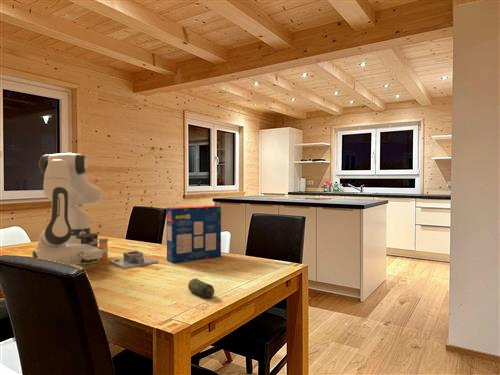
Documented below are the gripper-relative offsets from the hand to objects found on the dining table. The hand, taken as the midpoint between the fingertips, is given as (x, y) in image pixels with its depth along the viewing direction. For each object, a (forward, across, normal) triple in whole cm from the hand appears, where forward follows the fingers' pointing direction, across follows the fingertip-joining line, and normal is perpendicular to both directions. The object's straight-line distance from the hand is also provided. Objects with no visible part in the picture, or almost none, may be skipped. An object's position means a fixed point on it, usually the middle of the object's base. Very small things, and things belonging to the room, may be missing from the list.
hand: (105, 249), depth 168 cm
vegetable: (+10, -66, +8) cm, 67 cm away
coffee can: (-3, +16, +9) cm, 19 cm away
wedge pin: (-1, 0, +6) cm, 6 cm away
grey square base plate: (+14, 0, +9) cm, 16 cm away
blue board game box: (+42, -14, +9) cm, 45 cm away
